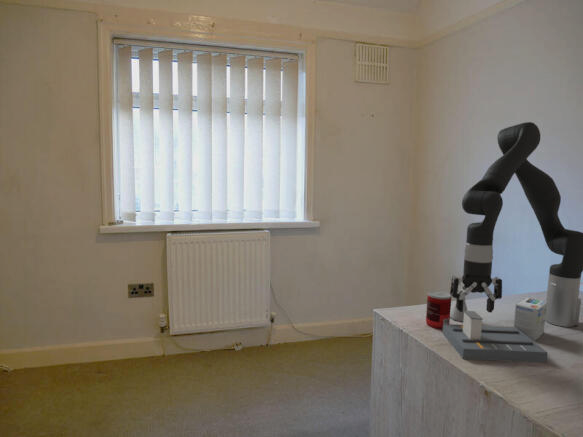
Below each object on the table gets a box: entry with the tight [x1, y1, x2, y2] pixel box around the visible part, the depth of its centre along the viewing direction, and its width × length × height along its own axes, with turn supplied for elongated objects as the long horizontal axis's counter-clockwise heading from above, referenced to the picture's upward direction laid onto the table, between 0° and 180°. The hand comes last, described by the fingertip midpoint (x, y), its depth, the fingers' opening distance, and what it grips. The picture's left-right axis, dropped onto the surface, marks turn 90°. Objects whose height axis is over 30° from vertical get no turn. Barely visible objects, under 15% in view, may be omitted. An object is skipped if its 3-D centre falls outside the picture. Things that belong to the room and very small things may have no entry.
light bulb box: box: [513, 297, 547, 342], centre depth 131 cm, size 11×7×11 cm, turn 134°
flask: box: [450, 289, 469, 322], centre depth 144 cm, size 7×7×10 cm
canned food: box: [425, 290, 452, 330], centre depth 138 cm, size 8×8×11 cm
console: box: [441, 323, 548, 364], centre depth 122 cm, size 23×18×4 cm
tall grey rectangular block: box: [462, 310, 484, 340], centre depth 121 cm, size 3×6×7 cm, turn 177°
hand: (474, 311), depth 121 cm, fingers open, 8 cm apart
